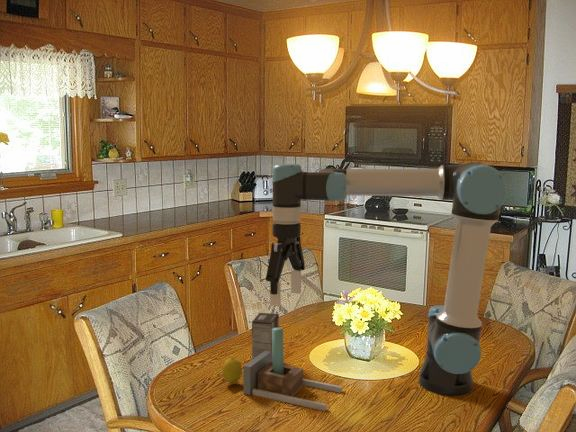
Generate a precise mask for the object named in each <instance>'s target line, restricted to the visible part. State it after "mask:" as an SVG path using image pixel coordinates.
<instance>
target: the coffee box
mask: <svg viewBox="0 0 576 432" xmlns="http://www.w3.org/2000/svg"><path fill="white" fill-rule="evenodd" d="M279 317H280V314H279V313H269V312H259V313H258V314H257V315H256V316H255V318H254V319H253V320H252V321H251V360H253V359H254V358H255V357H257V356H258V355H260V354H261V353H262V352H264V351H265V350H266V349H269V350H272V329H273V328H280V327H279Z"/></svg>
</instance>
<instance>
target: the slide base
mask: <svg viewBox="0 0 576 432" xmlns="http://www.w3.org/2000/svg"><path fill="white" fill-rule="evenodd" d="M271 362H272V363H273V351H272V350H269V349H266V350H265V351H264V352H262V353H261V354H260V355H258V356H257V357H255V358H254V359H253V360H252V359H251V360H249V361H248V362H246V364H244V365H243V394H244V395H248V396H251V395H252V396H255V397H256V396H257V397H260V398H261V397H262V398H264V399H270V400H274V401H279V402H284V403H287V404H288V403H289V404H292V405H295V406H297V405H298V406H301V407H305V408H308V409H309V408H310V409H314V410H318V411H324V412H325V411H326V410H327V403H322V402H319V401H314V400H310V399H309V400H308V399H305V398H300V397H295V396H293V397H292V396H287V395H283V394H278V393H273V392H269V391H264V390H260V389H258V372H259V371H260V370H261V369H263V368H264V367H265V366H267V365H268V364H269V363H271ZM303 386H306V387H311V388H316V389H321V390H324V391H329V392H335V393H338V394H341V393H342V392H343V386H342V385H336V384H332V383H326V382H321V381H316V380H311V379H306V378H303Z"/></svg>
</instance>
